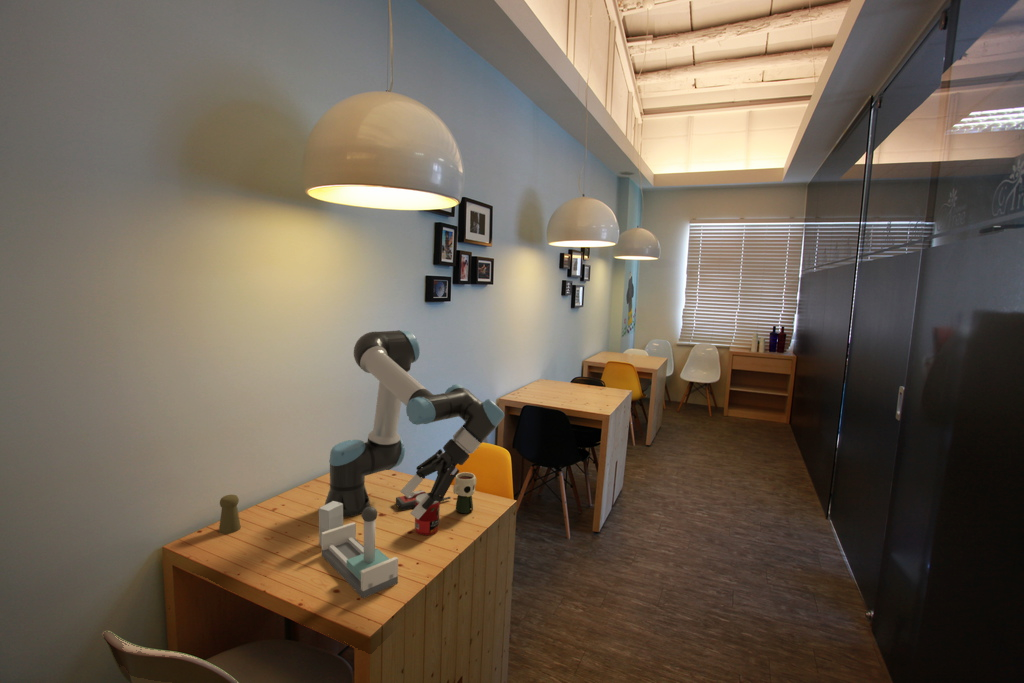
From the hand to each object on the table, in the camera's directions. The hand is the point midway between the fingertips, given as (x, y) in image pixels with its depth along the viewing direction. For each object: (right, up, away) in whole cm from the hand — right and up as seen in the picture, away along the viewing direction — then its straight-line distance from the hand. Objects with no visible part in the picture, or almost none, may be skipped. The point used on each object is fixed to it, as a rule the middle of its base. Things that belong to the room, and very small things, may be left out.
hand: (408, 504), depth 132 cm
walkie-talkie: (-5, -15, +44) cm, 47 cm away
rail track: (-15, -19, +2) cm, 24 cm away
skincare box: (-27, -17, +15) cm, 35 cm away
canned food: (+1, -17, +25) cm, 30 cm away
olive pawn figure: (-62, -15, +20) cm, 67 cm away
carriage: (-10, -16, -3) cm, 19 cm away
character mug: (+11, -16, +39) cm, 44 cm away
